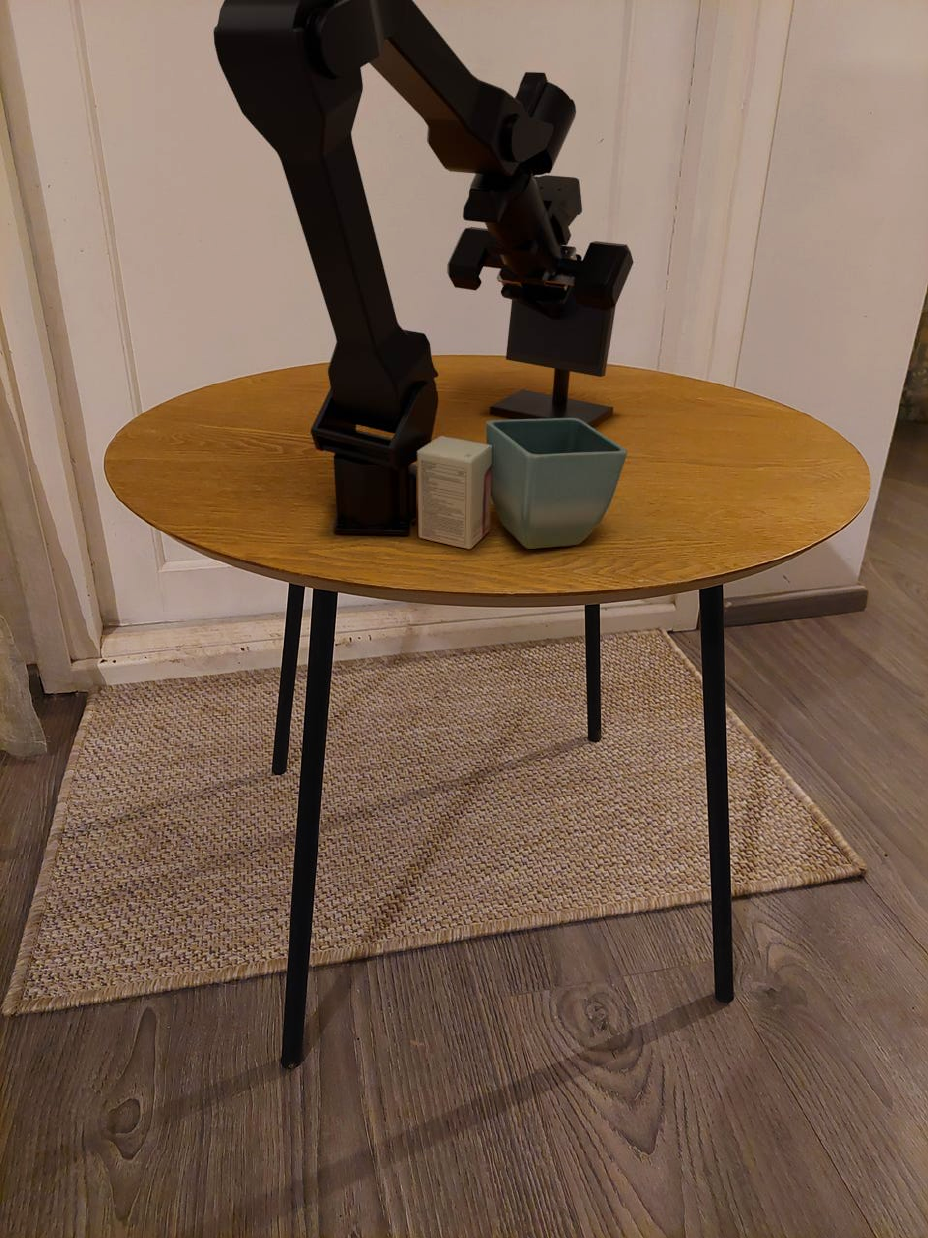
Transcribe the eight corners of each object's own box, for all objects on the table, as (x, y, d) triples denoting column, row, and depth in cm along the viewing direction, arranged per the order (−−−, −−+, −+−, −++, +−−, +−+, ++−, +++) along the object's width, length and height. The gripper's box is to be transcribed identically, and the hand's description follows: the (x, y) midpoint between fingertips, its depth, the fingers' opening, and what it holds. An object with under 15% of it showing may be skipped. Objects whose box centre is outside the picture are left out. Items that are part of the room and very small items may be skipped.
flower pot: (563, 512, 82) (578, 415, 78) (611, 554, 75) (630, 450, 71) (474, 519, 79) (484, 419, 75) (515, 564, 72) (529, 456, 68)
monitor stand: (584, 434, 100) (590, 368, 96) (489, 414, 105) (492, 350, 101) (612, 415, 106) (619, 352, 102) (521, 396, 111) (525, 336, 107)
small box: (491, 531, 78) (495, 443, 74) (469, 551, 75) (472, 461, 71) (439, 519, 80) (440, 433, 76) (416, 538, 77) (415, 449, 72)
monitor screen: (600, 377, 99) (614, 285, 95) (505, 359, 104) (514, 271, 100) (605, 375, 100) (619, 285, 96) (510, 358, 105) (519, 271, 101)
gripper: (638, 151, 83) (664, 263, 97) (464, 140, 91) (510, 245, 105) (595, 254, 81) (627, 353, 95) (420, 233, 89) (473, 327, 103)
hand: (557, 315), depth 99 cm, fingers closed, pressing on monitor screen
